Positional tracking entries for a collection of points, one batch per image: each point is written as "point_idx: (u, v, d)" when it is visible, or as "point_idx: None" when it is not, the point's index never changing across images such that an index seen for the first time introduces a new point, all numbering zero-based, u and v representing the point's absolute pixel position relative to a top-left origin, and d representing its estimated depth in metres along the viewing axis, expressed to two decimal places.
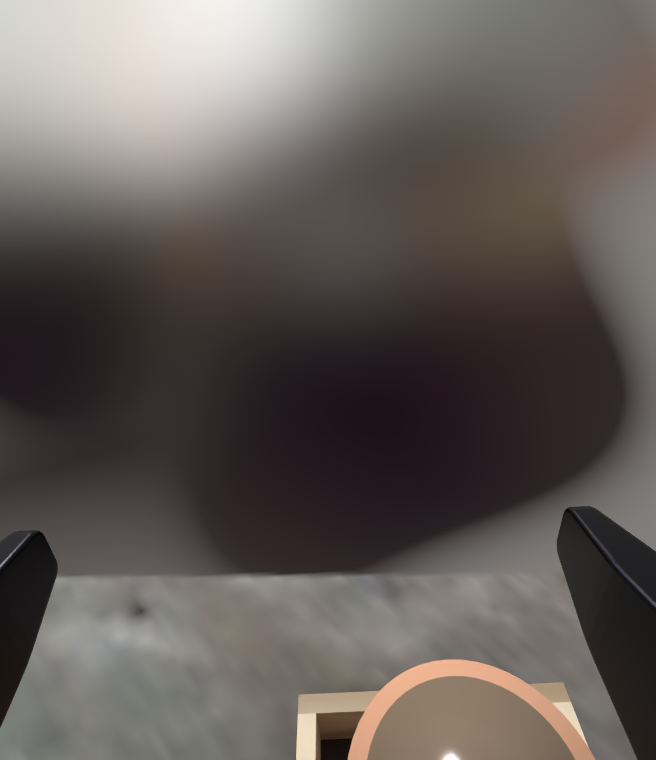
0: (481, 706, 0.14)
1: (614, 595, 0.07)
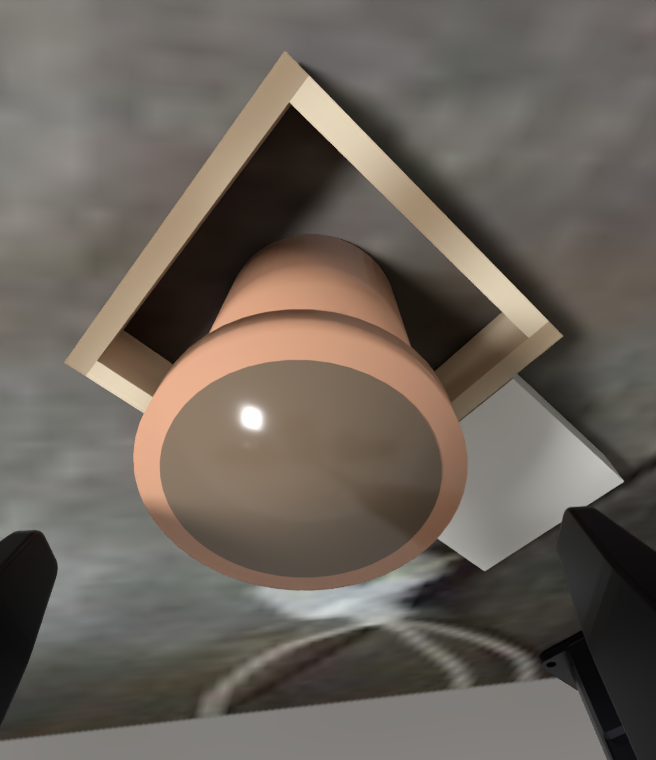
0: (244, 411, 0.09)
1: (614, 595, 0.07)
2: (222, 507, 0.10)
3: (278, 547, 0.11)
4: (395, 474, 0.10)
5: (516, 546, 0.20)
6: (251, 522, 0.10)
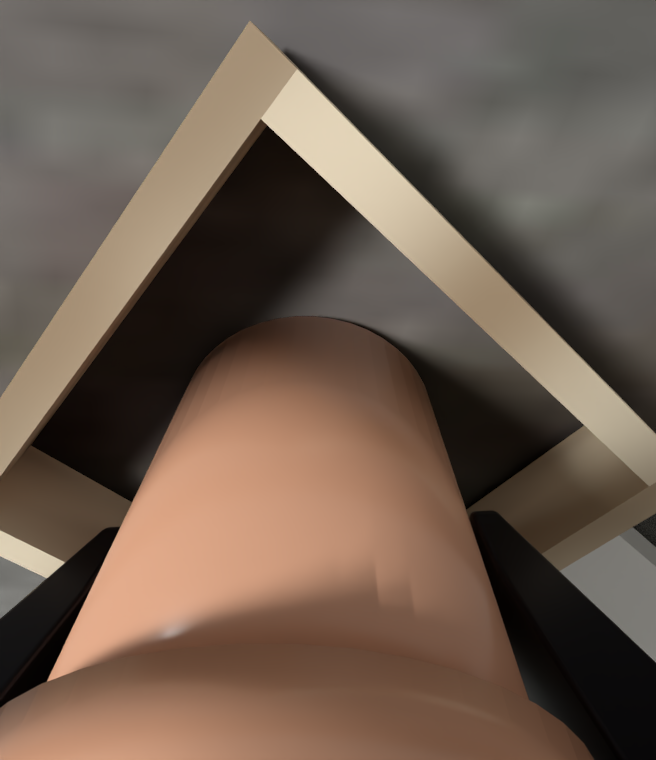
0: None
1: (500, 599, 0.07)
2: None
3: None
4: None
5: None
6: None
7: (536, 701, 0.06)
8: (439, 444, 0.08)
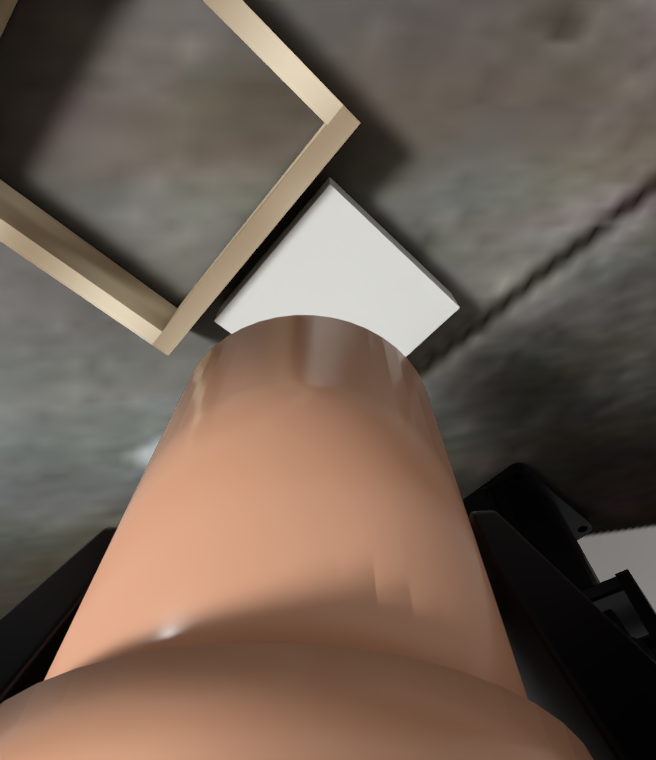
0: None
1: (499, 599, 0.07)
2: None
3: None
4: None
5: None
6: None
7: (536, 701, 0.06)
8: (438, 443, 0.08)
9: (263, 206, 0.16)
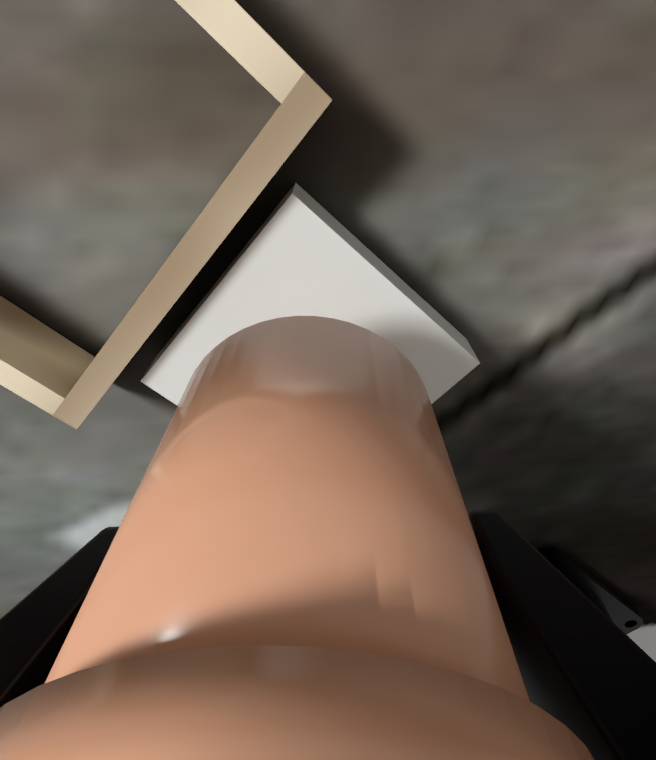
0: None
1: (499, 599, 0.07)
2: None
3: None
4: None
5: None
6: None
7: (536, 701, 0.06)
8: (439, 444, 0.08)
9: (193, 226, 0.11)
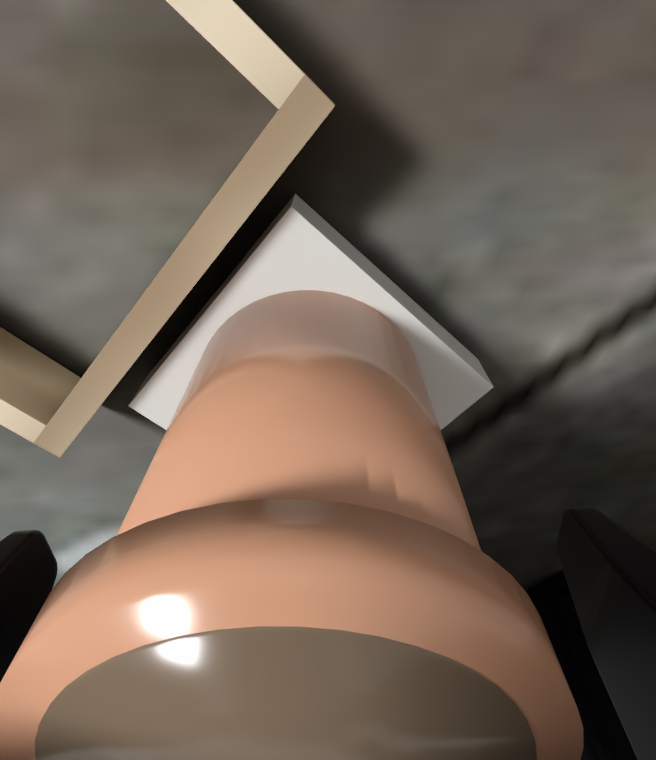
0: (178, 697, 0.05)
1: (614, 595, 0.07)
2: None
3: None
4: None
5: None
6: None
7: None
8: (425, 397, 0.10)
9: (182, 243, 0.10)
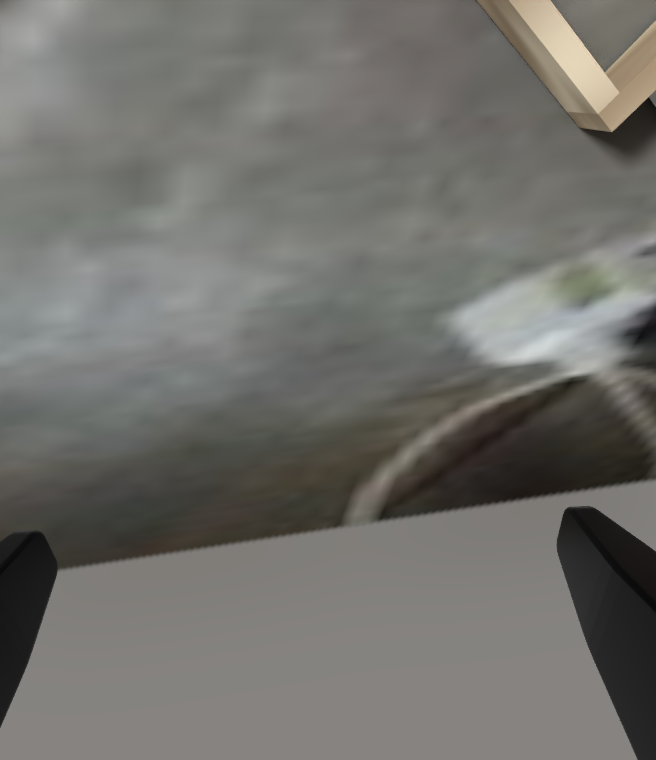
0: None
1: (614, 595, 0.07)
2: None
3: None
4: None
5: None
6: None
7: None
8: None
9: None
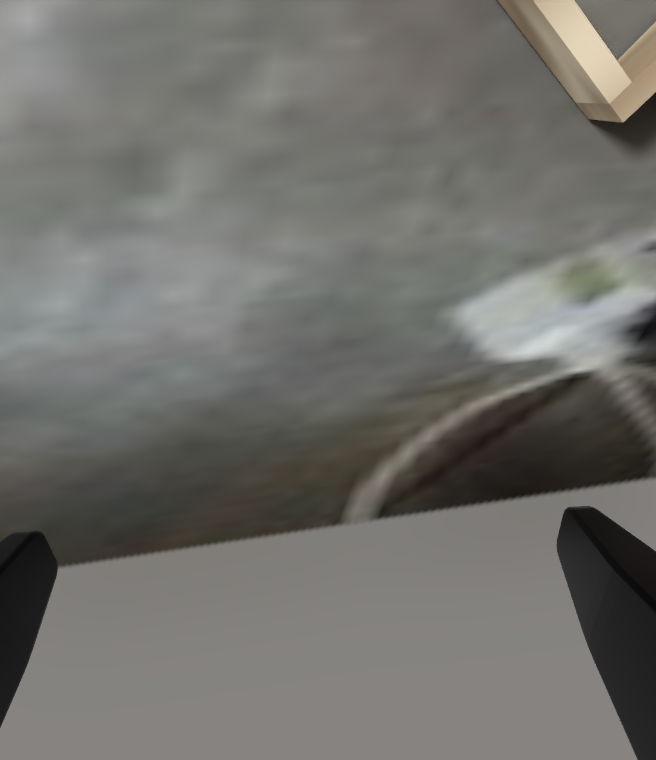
0: None
1: (614, 595, 0.07)
2: None
3: None
4: None
5: None
6: None
7: None
8: None
9: None
